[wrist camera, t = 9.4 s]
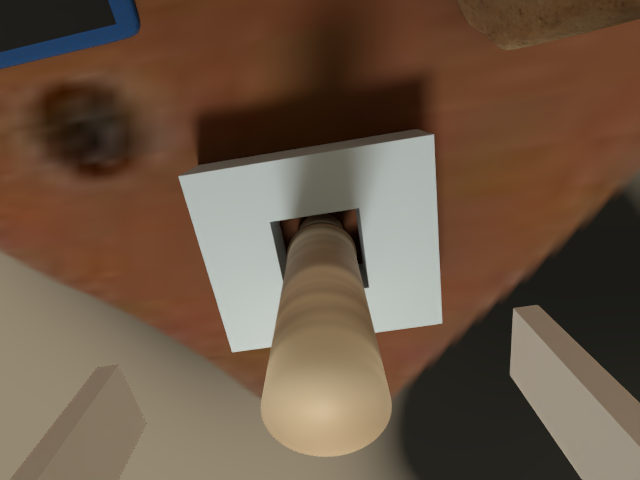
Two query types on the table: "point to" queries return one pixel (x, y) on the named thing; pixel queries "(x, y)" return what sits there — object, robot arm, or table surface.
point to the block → (544, 18)
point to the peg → (324, 349)
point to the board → (312, 199)
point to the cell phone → (61, 27)
